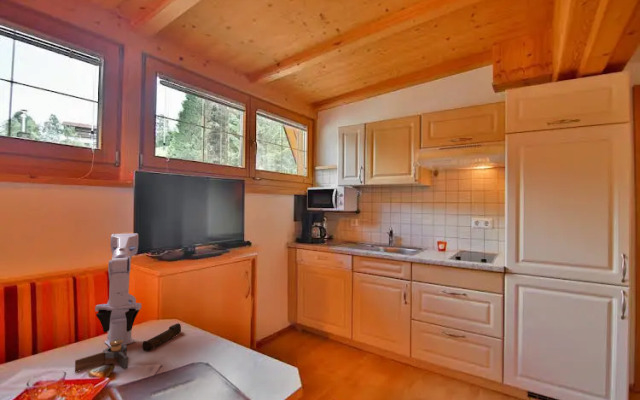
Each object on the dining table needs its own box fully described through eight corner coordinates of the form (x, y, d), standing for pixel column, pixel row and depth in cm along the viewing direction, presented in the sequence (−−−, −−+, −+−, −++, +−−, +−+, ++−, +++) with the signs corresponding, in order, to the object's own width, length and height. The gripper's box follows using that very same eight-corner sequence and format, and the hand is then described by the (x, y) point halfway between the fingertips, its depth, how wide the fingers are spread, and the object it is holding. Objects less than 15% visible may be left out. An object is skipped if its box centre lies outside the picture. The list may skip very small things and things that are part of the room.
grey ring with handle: (100, 359, 105) (101, 349, 105) (122, 353, 110) (122, 343, 110) (114, 372, 96) (115, 361, 96) (137, 365, 101) (137, 354, 101)
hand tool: (150, 352, 111) (150, 339, 111) (141, 351, 112) (141, 338, 112) (186, 333, 129) (186, 322, 129) (178, 332, 130) (178, 321, 130)
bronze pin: (113, 357, 107) (113, 339, 107) (124, 356, 107) (125, 339, 108) (106, 362, 103) (107, 344, 104) (118, 361, 104) (119, 343, 104)
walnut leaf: (72, 368, 99) (73, 357, 99) (122, 353, 110) (122, 343, 110) (77, 374, 95) (78, 363, 95) (128, 358, 106) (129, 348, 106)
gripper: (89, 295, 103) (88, 336, 102) (134, 294, 104) (133, 334, 103) (102, 290, 110) (101, 328, 109) (144, 289, 111) (143, 327, 110)
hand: (117, 331), depth 106 cm, fingers open, 7 cm apart
